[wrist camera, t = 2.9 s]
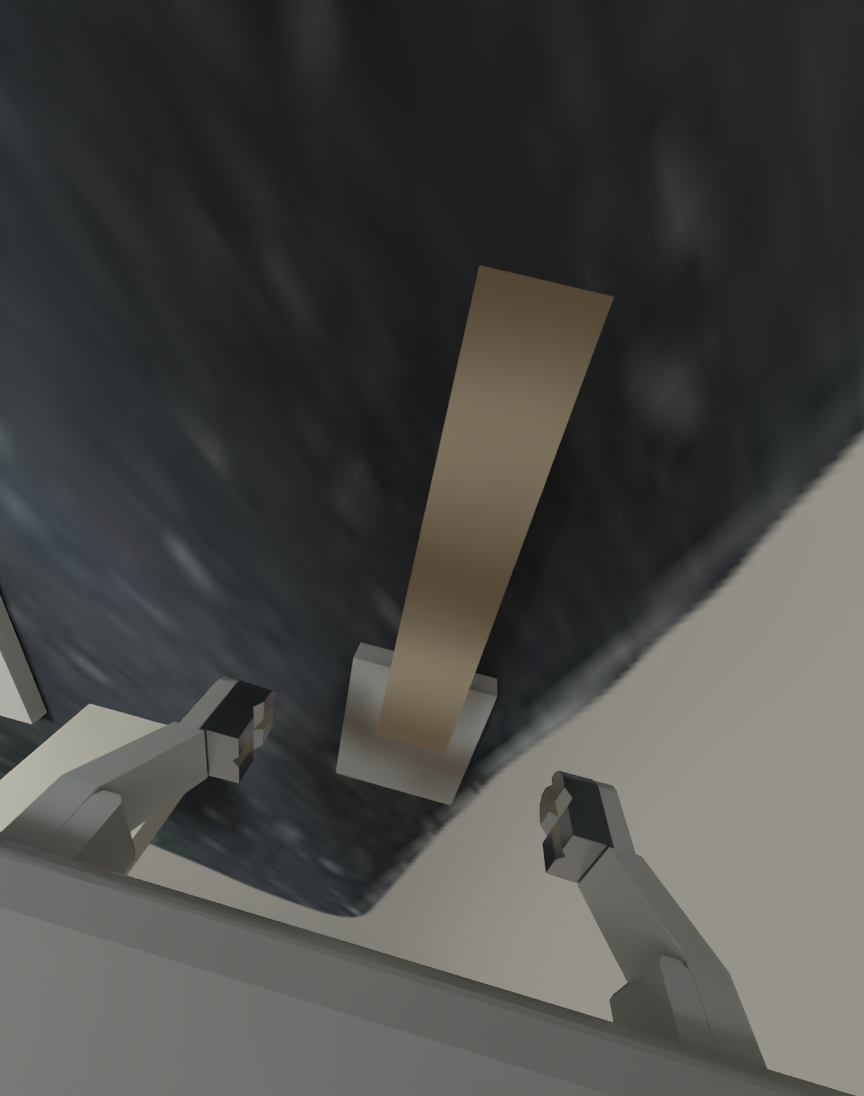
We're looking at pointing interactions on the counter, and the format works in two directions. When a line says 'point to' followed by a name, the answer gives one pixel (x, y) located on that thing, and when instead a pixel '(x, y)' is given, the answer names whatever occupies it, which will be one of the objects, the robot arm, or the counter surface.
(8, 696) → the board
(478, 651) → the wooden handled scraper
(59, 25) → the counter surface
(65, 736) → the tile
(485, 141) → the counter surface
